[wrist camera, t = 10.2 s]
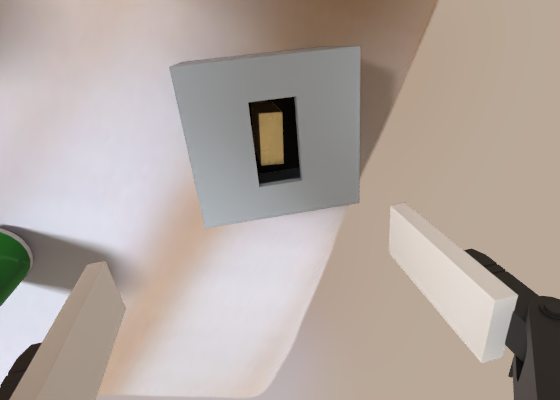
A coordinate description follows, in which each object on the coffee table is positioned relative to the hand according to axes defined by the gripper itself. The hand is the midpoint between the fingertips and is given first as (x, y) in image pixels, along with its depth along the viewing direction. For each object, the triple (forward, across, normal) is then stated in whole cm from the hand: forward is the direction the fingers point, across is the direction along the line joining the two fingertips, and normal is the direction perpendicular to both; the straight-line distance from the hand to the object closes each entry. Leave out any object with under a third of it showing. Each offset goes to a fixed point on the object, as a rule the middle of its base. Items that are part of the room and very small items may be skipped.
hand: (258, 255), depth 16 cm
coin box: (+25, +4, +1) cm, 25 cm away
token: (+25, +4, 0) cm, 25 cm away
